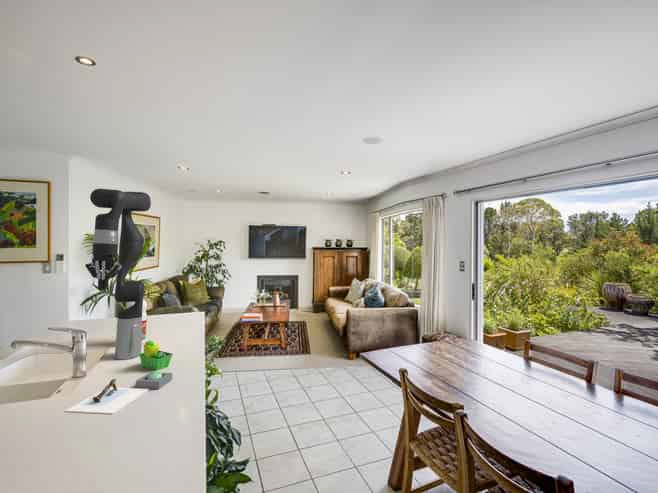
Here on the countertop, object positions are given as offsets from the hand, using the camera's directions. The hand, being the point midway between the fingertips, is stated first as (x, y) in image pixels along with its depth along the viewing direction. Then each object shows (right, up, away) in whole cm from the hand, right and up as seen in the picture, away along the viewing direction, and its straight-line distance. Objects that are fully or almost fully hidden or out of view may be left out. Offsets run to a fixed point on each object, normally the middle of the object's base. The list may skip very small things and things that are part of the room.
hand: (102, 289), depth 109 cm
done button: (+22, -32, -5) cm, 39 cm away
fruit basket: (+12, -33, +11) cm, 37 cm away
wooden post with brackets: (+13, -31, -16) cm, 38 cm away
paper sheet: (+15, -32, -17) cm, 39 cm away
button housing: (+22, -32, -5) cm, 39 cm away
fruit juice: (-15, -34, +41) cm, 55 cm away
